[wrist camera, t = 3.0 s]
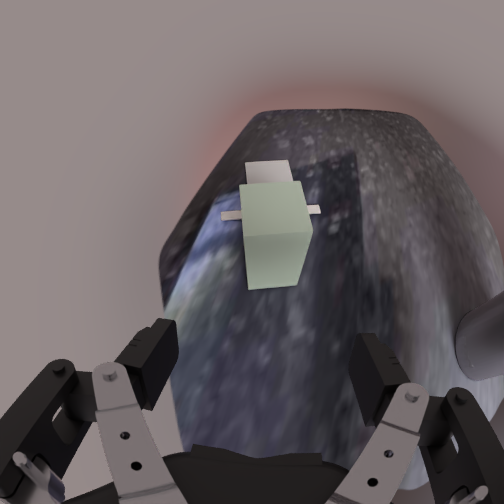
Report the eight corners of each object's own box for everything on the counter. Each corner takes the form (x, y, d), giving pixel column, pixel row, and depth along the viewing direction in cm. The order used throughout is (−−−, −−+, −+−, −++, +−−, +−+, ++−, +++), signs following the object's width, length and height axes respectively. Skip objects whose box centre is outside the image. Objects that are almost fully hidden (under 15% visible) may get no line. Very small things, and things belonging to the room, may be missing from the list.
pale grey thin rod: (318, 205, 33) (318, 204, 33) (320, 213, 33) (320, 212, 32) (221, 212, 33) (220, 211, 33) (221, 220, 32) (221, 219, 32)
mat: (287, 161, 37) (287, 160, 37) (295, 192, 34) (295, 190, 34) (245, 164, 37) (245, 162, 37) (248, 195, 34) (248, 194, 34)
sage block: (289, 243, 31) (300, 181, 22) (296, 285, 28) (313, 231, 19) (244, 247, 30) (239, 184, 22) (248, 289, 28) (243, 236, 19)
